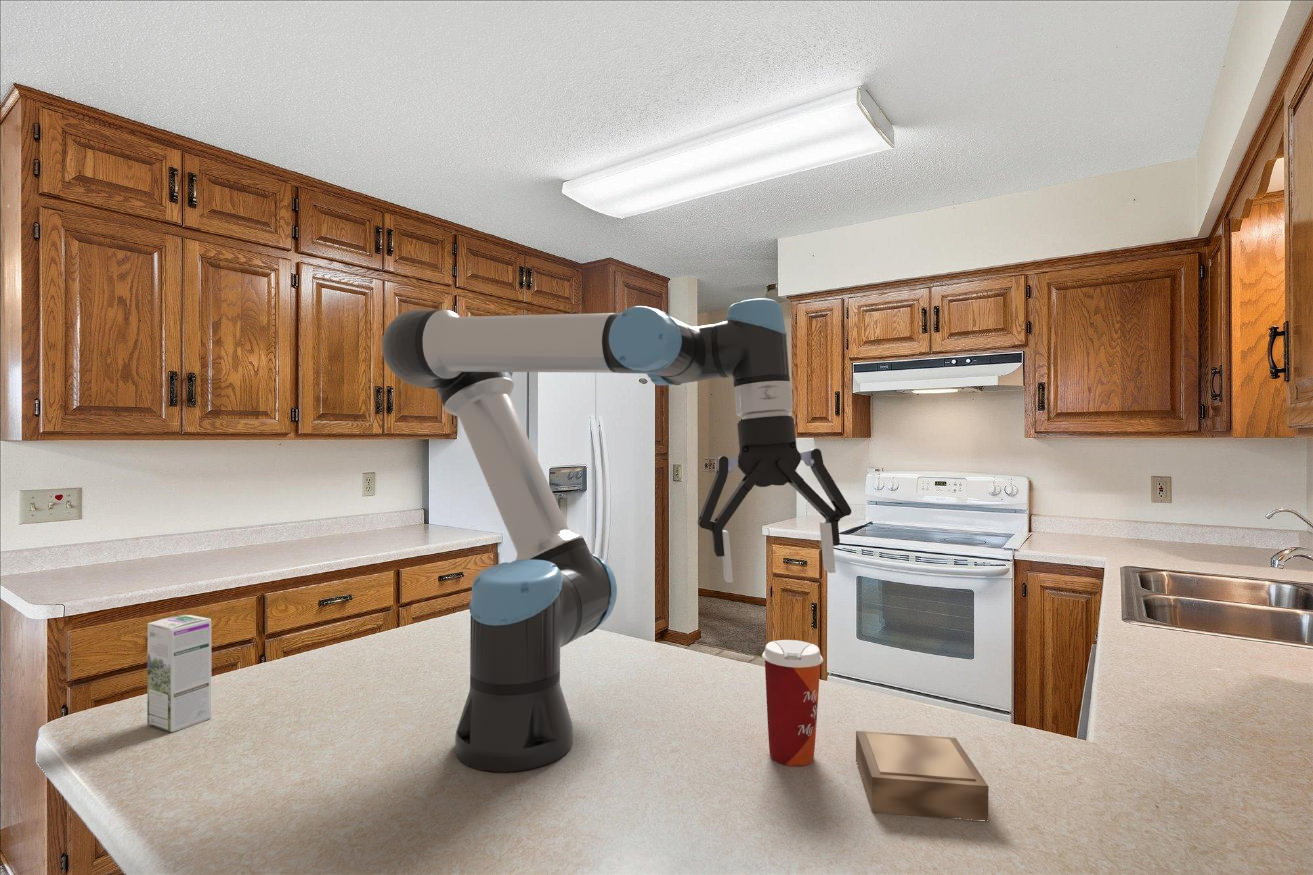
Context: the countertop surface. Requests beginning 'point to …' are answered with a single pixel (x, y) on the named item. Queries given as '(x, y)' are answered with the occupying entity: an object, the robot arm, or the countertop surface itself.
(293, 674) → the countertop surface
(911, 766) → the plinth
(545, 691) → the robot arm
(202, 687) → the syrup box
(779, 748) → the paper cup
